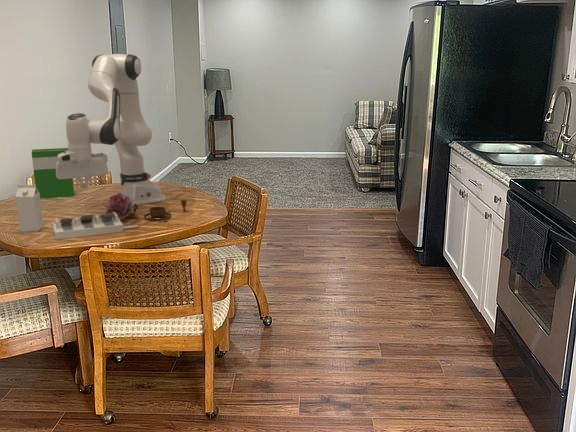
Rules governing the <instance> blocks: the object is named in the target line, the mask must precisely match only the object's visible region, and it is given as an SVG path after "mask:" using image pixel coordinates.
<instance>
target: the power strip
mask: <svg viewBox="0 0 576 432" xmlns="http://www.w3.org/2000/svg"><path fill="white" fill-rule="evenodd" d="M73 217H74V221H72V223H64V224H61V223H60V220H59V219H58V217H55V218H54V223H52V229H53V233H54V238H55V240H65V239H72V238H82V237H89V236H98V235H99V236H100V235H107V234H115V233H122V232H123V233H124V230H129V229H137V228H139V225H137V224H136V225H128V226H124V225H123V223H122V221H121V220H119V218H118V215H117V214H116V212H113V218H110V219H102V218H100V216H99V215H98V214H97V213H94V215H93V217H94V218H93V219H92V221H84V222H81V220H79V218H78V216H77V215H74V216H73Z"/></svg>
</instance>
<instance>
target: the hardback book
mask: <svg viewBox="0 0 576 432" xmlns="http://www.w3.org/2000/svg"><path fill="white" fill-rule="evenodd" d="M66 151H68V147H62V148H59V147H58V148H37V149H32V150H31V159H32V168H33V169H32V170H33V177H34V185H36V188H37V190H38V191H39V192H40V200H43V199H42V198H46V199H56V198H58V197H60V198H68V197H69V198H71V197H75V189H74V181H73V179H74V178H69V179H58V178H57V177H56V163H57V161H58V158H57V156H58V154H60V153H63V152H66Z"/></svg>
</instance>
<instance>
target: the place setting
mask: <svg viewBox="0 0 576 432" xmlns="http://www.w3.org/2000/svg"><path fill="white" fill-rule="evenodd" d="M187 201H188V200H187V199H186V200H185V199H183V200H181V201H180V204H181V207H182V210H183V211H184V212H183V213H186V207H187ZM165 214H166V215H165ZM149 215H151V216H149ZM168 215H169V216H168ZM143 216H144V217H143V218H144V219H145V221H148V220H150V221H149V222H161V220H163V221H166V222H165V223H168V220H170V219H171V217H172V213H170V212H169V211H166V207H165V206H152V207H150V208H149V212H148V213H145V214H144V215H143ZM147 216H148V217H147ZM165 216H167V217H165ZM146 217H147V218H146ZM150 217H151V218H150ZM154 218H160V219H154ZM169 218H170V219H169ZM166 219H167V220H166Z"/></svg>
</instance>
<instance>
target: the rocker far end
mask: <svg viewBox="0 0 576 432" xmlns="http://www.w3.org/2000/svg"><path fill="white" fill-rule="evenodd" d="M72 222H74V221H73V218H70V217H67V218H66V217H65V218H61V219H59V223H61V224H64V223H72Z"/></svg>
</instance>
